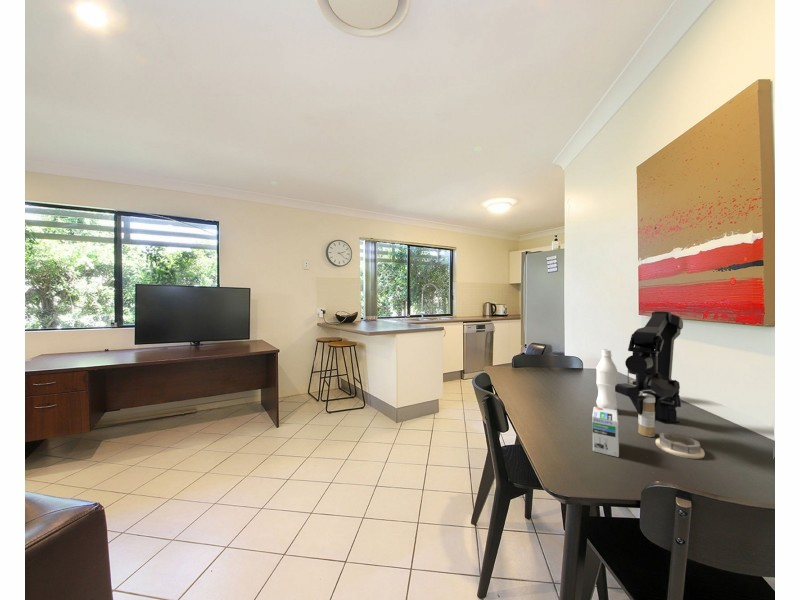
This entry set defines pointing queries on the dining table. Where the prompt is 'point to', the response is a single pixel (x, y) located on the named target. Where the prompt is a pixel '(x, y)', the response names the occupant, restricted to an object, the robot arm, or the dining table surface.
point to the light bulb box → (605, 431)
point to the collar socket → (680, 445)
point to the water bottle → (606, 381)
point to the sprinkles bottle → (647, 417)
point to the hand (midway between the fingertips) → (646, 413)
